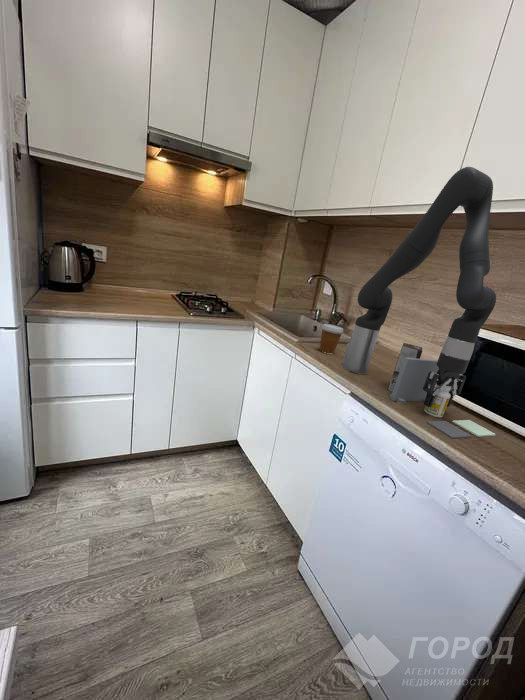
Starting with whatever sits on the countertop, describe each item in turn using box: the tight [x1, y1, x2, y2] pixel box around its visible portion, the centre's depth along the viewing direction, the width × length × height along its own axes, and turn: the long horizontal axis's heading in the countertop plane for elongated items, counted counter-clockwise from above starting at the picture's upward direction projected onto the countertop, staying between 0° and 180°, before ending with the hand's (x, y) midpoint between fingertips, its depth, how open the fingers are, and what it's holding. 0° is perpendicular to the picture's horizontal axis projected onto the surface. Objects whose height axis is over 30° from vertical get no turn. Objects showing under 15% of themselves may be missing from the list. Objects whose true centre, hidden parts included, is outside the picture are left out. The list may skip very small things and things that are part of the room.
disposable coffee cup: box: [319, 323, 344, 353], centre depth 147 cm, size 10×10×12 cm
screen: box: [388, 358, 439, 405], centre depth 106 cm, size 5×16×14 cm, turn 114°
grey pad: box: [426, 420, 473, 440], centre depth 90 cm, size 8×8×1 cm
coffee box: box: [387, 342, 423, 392], centre depth 114 cm, size 9×6×16 cm
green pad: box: [451, 419, 497, 437], centre depth 95 cm, size 8×8×1 cm
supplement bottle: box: [423, 383, 451, 418], centre depth 99 cm, size 5×5×10 cm
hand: (436, 405), depth 100 cm, fingers open, 7 cm apart
